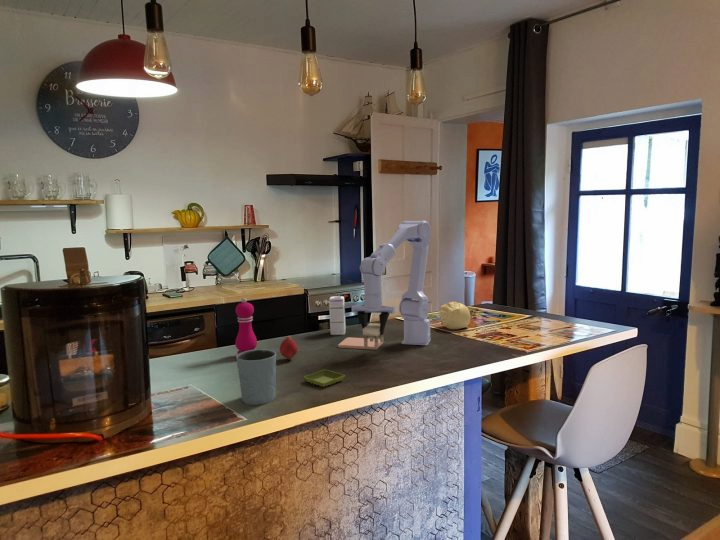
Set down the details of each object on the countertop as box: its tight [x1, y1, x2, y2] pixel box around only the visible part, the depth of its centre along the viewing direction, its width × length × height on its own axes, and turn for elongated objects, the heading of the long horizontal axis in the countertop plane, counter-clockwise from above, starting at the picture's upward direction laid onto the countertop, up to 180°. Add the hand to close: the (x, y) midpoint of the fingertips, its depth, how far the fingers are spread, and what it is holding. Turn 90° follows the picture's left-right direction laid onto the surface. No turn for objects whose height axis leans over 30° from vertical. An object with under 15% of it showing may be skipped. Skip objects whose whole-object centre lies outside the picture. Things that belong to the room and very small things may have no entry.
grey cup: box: [235, 348, 277, 406], centre depth 135 cm, size 10×10×12 cm
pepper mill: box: [235, 297, 258, 356], centre depth 175 cm, size 7×7×20 cm
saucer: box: [303, 368, 346, 388], centre depth 148 cm, size 9×9×2 cm
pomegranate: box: [279, 335, 299, 361], centre depth 171 cm, size 6×6×8 cm
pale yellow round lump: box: [439, 301, 472, 330], centre depth 210 cm, size 11×12×11 cm
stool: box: [362, 322, 385, 349], centre depth 173 cm, size 9×5×6 cm, turn 164°
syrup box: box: [328, 295, 347, 336], centre depth 205 cm, size 6×6×14 cm
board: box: [337, 337, 384, 351], centre depth 188 cm, size 14×11×1 cm
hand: (373, 334), depth 173 cm, fingers closed on stool, 5 cm apart
